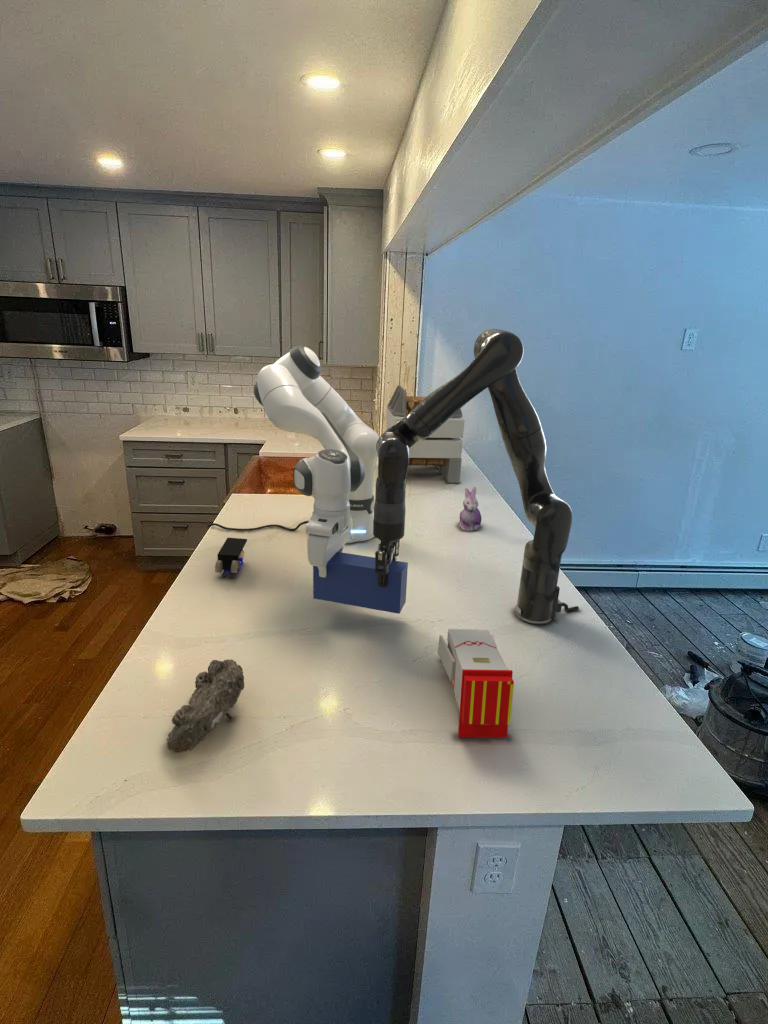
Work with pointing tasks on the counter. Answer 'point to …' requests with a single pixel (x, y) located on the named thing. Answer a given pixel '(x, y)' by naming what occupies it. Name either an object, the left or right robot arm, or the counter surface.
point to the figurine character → (230, 556)
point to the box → (361, 583)
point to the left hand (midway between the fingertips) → (330, 568)
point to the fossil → (206, 705)
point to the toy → (478, 682)
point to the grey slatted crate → (431, 438)
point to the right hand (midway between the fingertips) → (386, 580)
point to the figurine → (470, 512)
